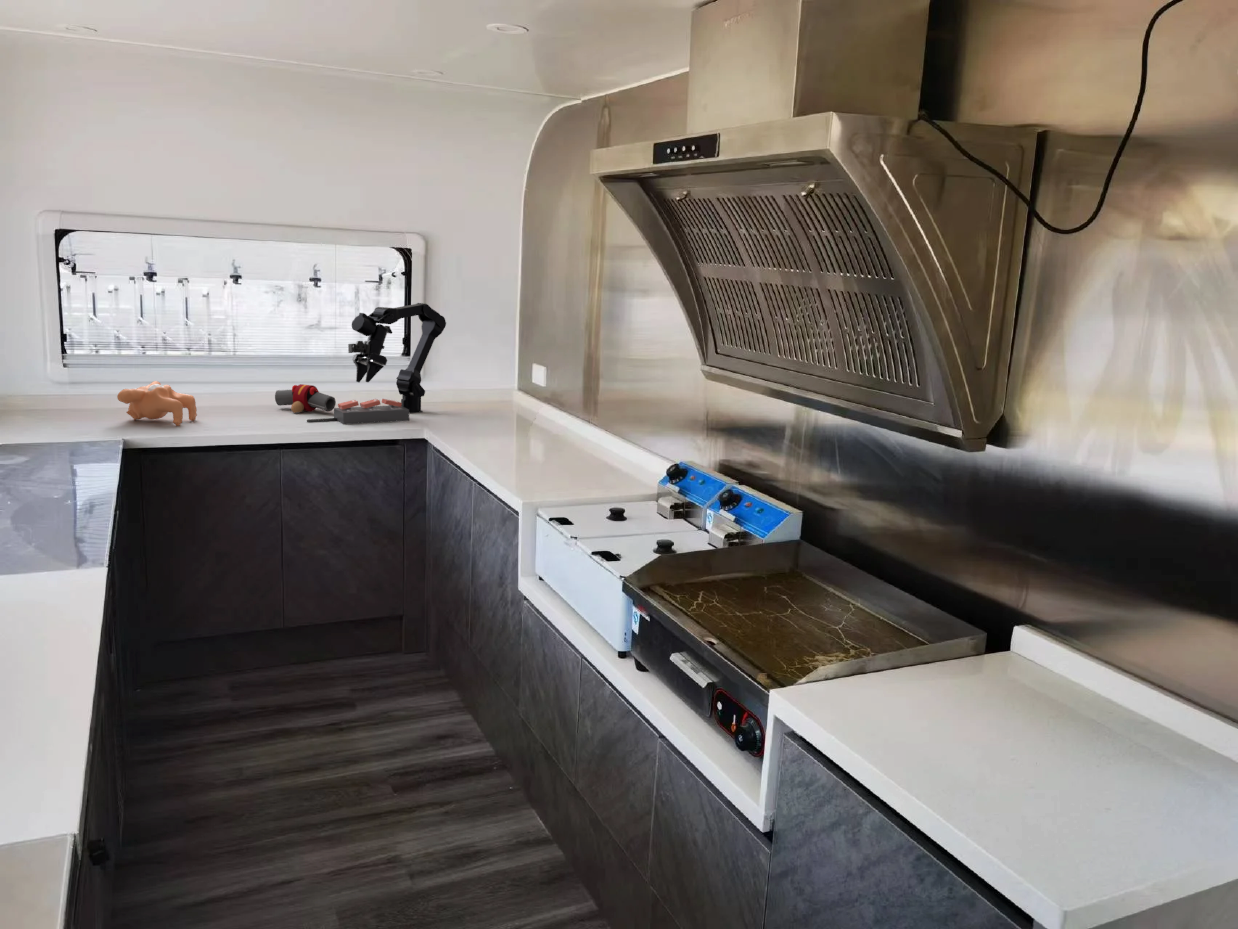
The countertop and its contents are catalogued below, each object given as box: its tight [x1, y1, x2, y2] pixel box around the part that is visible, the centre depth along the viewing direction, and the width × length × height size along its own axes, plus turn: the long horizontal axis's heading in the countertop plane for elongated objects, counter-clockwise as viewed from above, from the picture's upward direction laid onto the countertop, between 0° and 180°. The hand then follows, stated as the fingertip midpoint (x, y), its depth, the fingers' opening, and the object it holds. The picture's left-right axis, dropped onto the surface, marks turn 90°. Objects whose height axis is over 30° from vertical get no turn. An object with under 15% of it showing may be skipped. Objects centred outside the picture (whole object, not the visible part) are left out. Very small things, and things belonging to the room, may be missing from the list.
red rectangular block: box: [381, 398, 402, 407], centre depth 349 cm, size 6×4×2 cm, turn 125°
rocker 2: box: [359, 398, 381, 409], centre depth 344 cm, size 6×4×2 cm, turn 124°
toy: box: [274, 384, 336, 414], centre depth 353 cm, size 23×10×15 cm
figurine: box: [116, 380, 198, 427], centre depth 319 cm, size 14×25×20 cm
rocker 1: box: [337, 399, 360, 410], centre depth 340 cm, size 6×4×2 cm, turn 124°
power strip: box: [306, 405, 410, 425], centre depth 341 cm, size 34×10×5 cm, turn 124°
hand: (362, 382), depth 343 cm, fingers open, 9 cm apart
